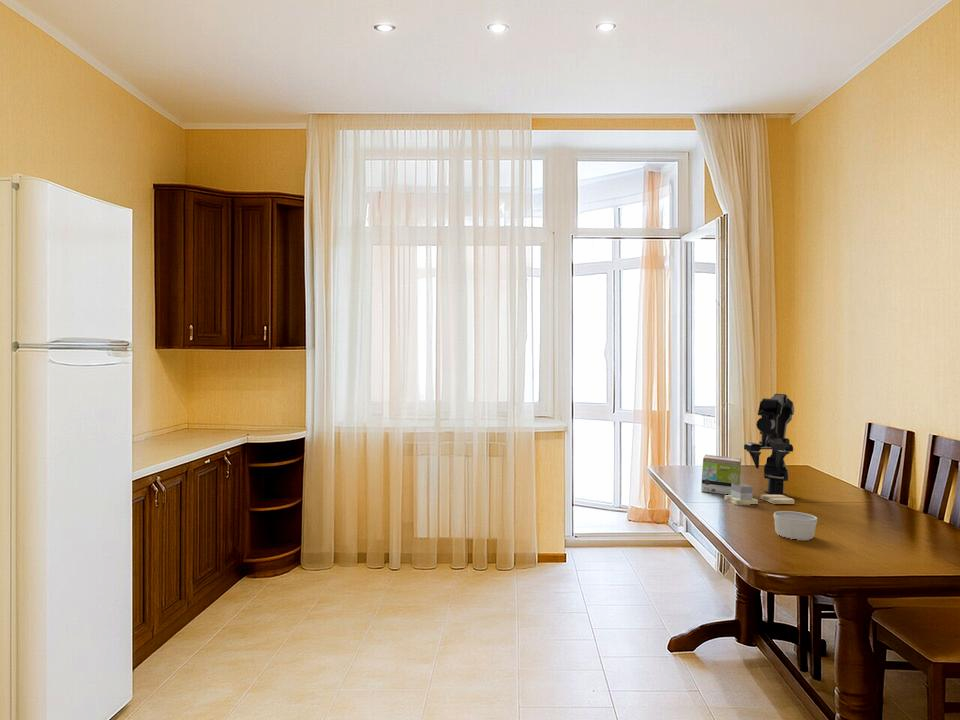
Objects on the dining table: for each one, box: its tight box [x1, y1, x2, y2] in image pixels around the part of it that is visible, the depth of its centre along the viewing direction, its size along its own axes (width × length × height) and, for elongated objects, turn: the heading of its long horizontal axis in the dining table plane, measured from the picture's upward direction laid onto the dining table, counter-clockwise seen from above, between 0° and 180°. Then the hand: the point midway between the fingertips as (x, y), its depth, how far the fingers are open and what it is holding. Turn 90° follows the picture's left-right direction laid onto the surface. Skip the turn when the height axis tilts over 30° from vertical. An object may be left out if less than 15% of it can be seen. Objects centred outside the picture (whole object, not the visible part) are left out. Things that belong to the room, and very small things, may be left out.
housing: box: [731, 482, 754, 500], centre depth 284 cm, size 7×5×5 cm
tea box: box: [700, 454, 742, 495], centre depth 303 cm, size 15×10×15 cm, turn 68°
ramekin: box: [773, 510, 818, 541], centre depth 236 cm, size 13×13×7 cm
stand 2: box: [760, 494, 795, 505], centre depth 287 cm, size 9×9×2 cm
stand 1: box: [724, 494, 759, 506], centre depth 284 cm, size 9×9×2 cm
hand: (767, 468), depth 289 cm, fingers open, 9 cm apart
